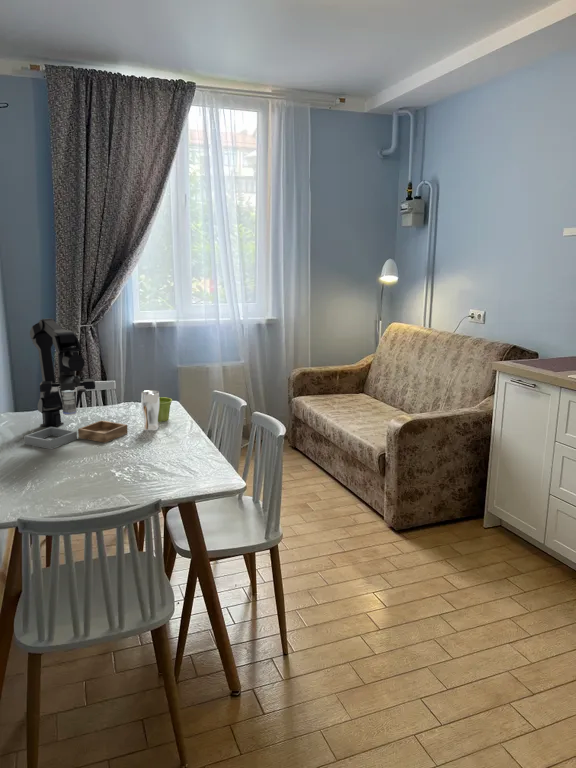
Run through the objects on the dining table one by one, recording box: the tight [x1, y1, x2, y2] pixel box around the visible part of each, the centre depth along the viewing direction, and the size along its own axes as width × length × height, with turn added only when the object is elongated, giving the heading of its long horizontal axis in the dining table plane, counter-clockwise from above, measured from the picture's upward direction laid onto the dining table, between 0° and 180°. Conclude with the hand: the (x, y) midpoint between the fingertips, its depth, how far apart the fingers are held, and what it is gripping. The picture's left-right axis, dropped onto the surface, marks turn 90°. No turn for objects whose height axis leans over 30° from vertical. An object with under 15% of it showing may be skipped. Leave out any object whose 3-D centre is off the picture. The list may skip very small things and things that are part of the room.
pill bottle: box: [62, 390, 78, 416], centre depth 213 cm, size 5×5×8 cm
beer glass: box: [140, 390, 160, 432], centre depth 228 cm, size 7×7×15 cm
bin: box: [23, 427, 78, 450], centre depth 213 cm, size 13×13×3 cm
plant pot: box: [158, 396, 173, 423], centre depth 241 cm, size 9×9×9 cm
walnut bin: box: [77, 419, 128, 444], centre depth 221 cm, size 13×13×4 cm
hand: (69, 408), depth 213 cm, fingers closed on pill bottle, 5 cm apart
